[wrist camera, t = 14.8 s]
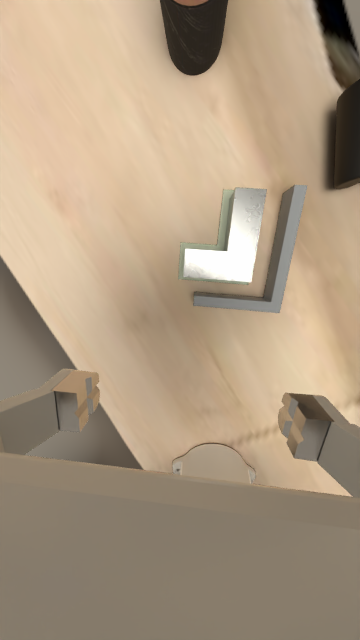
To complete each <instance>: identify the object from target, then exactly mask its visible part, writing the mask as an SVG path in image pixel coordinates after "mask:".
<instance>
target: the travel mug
mask: <svg viewBox="0 0 360 640" xmlns="http://www.w3.org/2000/svg"><path fill="white" fill-rule="evenodd" d="M160 3H161V9H162V15H163V21H164V27H165V33H166V38H167V44H168V49H169V53H170V56H171V59H172V61H173V63H174V64H175V66H176V67H177V68H178V69H179V70H180V71H181V72H183V73H185V74H188V75H198V74H201V73H203V72H205V71H206V70H208V69H209V68H210V67H211V66H212V64H213V63H214V62H215V60H216V58H217V56H218V54H219V51H220V47H221V43H222V37H223V31H224V24H225V18H226V11H227V4H228V0H160Z"/></svg>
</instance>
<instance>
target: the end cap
mask: <svg viewBox="0 0 360 640" xmlns="http://www.w3.org/2000/svg"><path fill="white" fill-rule="evenodd" d="M357 183H360V79H359V80H358V81H356V82H355V83H353V84H352V85H351V86H350V87H348V88H347V89H346V90H345V91H344V92H343V93H342V94H341V96H340V97H339V99H338V101H337V116H336V145H335V173H334V188H336V189H342V188H348V187H351V186H353V185H355V184H357Z"/></svg>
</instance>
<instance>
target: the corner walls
mask: <svg viewBox="0 0 360 640" xmlns="http://www.w3.org/2000/svg"><path fill="white" fill-rule="evenodd" d="M306 189H307V186H306V185H294V186H293V187H291V188H290V189H289V190H287V191H286V192H285V193H283V197H282V202H281V208H280V213H279V218H278V223H277V229H276V234H275V239H274V244H273V250H272V255H271V260H270V265H269V271H268V276H267V281H266V286H265V292H264V297H251V296H239V295H227V294H215V293H203V292H194V303H193V306H204V307H215V308H227V309H238V310H250V311H261V312H273V313H280V309H281V304H282V299H283V295H284V290H285V286H286V281H287V276H288V272H289V267H290V263H291V258H292V254H293V249H294V244H295V240H296V235H297V231H298V226H299V221H300V217H301V212H302V208H303V203H304V198H305V194H306Z"/></svg>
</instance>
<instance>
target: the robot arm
mask: <svg viewBox="0 0 360 640" xmlns="http://www.w3.org/2000/svg"><path fill="white" fill-rule="evenodd" d="M98 382H99V375H98V373H96V372H88V371H80V370H72V369H62V370H61V371H59V372H58V373H57V374H56V375H54V376H53V377H52V378H51V379H50V380H48V381H47V382H46V383H45V384H44V385H42V386H41V387H40V388H39V389H32V390H30V391H27V392H24V393H21V394H18V395H16V396H13V397H10V398H7V399H4V400H2V401H0V640H360V427H358V426H357V425H355V424H350V423H349V422H348V421H347V420H346V419H345V418H344V417H343V415H342V414H341V413H340V412H339V411H338V410H337V409H336V408H335V407H334V406H333V405H332V404H331V403H330V401H329V400H328V399H327V398H326V397H324V396H321V395H306V394H294V393H285V394H284V395H283V398H282V403H283V404H284V406H283V407H282V408H281V409H280V410H279V414H278V424H279V428H280V430H281V432H282V434H283V435H284V436H285V437H287V438H288V440H287V445H288V447H289V449H290V451H291V453H292V455H293V457H294V458H296V459H303V460H310V461H317V463H318V464H319V465H320V466H321V467H322V468H323V469H324V470H326V471H327V472H328V473H329V474H330V475H331V476H332V477H333V478H334V479H335V480H336V481H337V482H338V483H339V484H340V485H341V486H342V487H343V488H344V489H345V490H347V491H348V492H349V493H350V494H351V495H352V496H353V497H350V496H342V495H334V494H326V493H318V492H310V491H303V490H295V489H287V488H279V487H272V486H264V485H256V484H252V483H253V481H254V480H255V477H256V474H255V471H254V469H253V468H251V467H250V466H248V465H247V464H246V463H245V462H244V460H243V458H242V457H241V456H240V455H239V454H238V453H237V452H236V451H235V450H233V449H232V448H229V447H227V446H224V445H220V444H204V445H200V446H197V447H195V448H193V449H192V450H190V451H189V452H188V453H187V454H186V455H184V456H183V457H180V458H177V459H175V460H174V461H173V462H172V468H173V474H170V473H162V472H154V471H146V470H138V469H130V468H123V467H122V468H121V467H115V466H107V465H98V464H91V463H83V462H76V461H68V460H60V459H52V458H44V457H36V456H29V455H25V454H26V453H28V452H29V451H31V450H32V449H34V448H35V447H37V446H38V445H40V444H41V443H43V442H44V441H46V440H47V439H49V438H50V437H52V436H53V435H55V434H56V433H58V432H59V431H70V432H81V430H82V429H83V427H84V426H85V424H86V423H87V421H88V415H89V414H91V413H93V412H94V411H95V409H96V407H97V405H98V402H99V397H100V390H99V389H98V387H97V386H96V385H97V384H98Z"/></svg>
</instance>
